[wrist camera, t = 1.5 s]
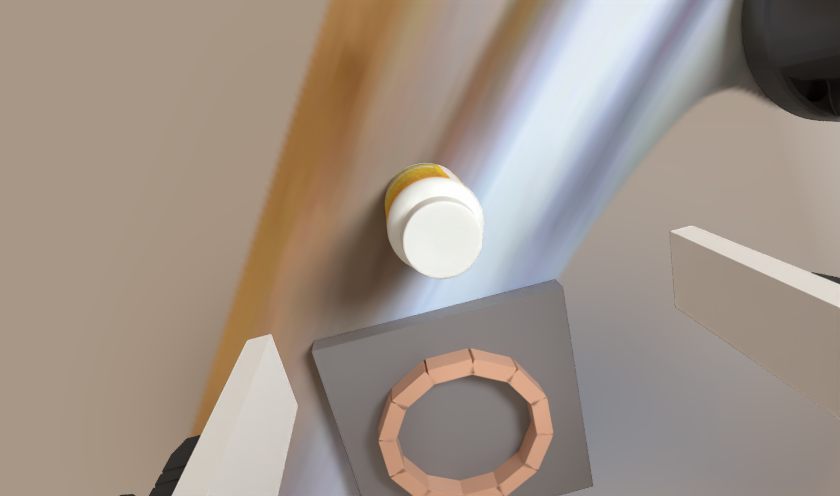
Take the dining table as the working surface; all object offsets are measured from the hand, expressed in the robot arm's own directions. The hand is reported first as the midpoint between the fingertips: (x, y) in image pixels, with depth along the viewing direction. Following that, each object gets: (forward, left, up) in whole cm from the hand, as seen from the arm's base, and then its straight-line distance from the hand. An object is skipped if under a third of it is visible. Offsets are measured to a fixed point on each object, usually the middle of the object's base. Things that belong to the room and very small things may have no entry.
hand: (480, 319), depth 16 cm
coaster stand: (+1, +17, -18) cm, 25 cm away
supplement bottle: (0, 0, -18) cm, 18 cm away
